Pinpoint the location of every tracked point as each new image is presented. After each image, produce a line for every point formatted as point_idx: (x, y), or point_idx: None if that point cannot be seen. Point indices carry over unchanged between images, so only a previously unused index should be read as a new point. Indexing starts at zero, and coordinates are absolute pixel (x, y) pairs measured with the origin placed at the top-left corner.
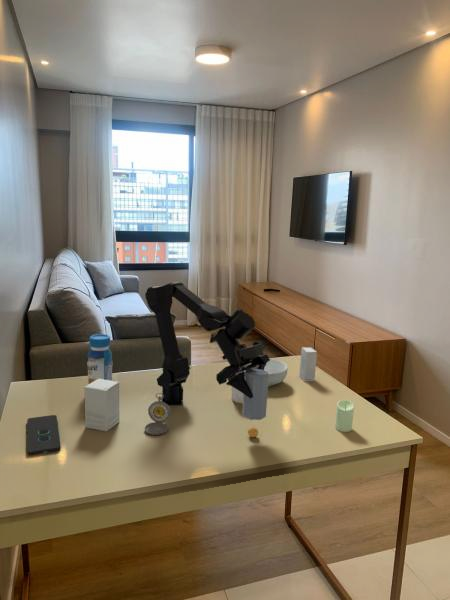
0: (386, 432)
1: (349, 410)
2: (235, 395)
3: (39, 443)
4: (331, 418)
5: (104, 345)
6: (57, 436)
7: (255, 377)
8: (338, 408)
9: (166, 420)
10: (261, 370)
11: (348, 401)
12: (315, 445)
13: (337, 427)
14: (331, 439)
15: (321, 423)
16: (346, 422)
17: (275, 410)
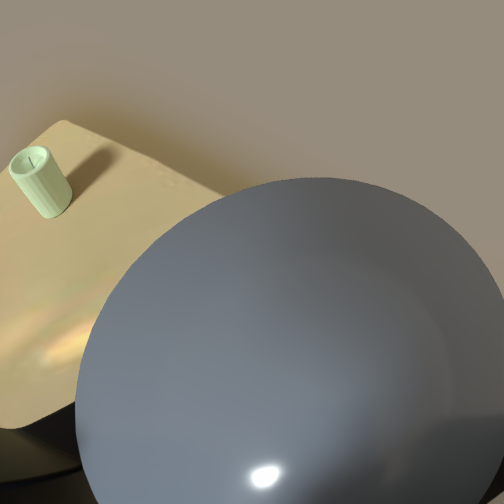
0: (54, 145)
1: (47, 149)
2: None
3: None
4: (21, 242)
5: None
6: None
7: (494, 287)
8: (39, 172)
9: None
10: (124, 438)
11: (15, 158)
12: (171, 212)
13: (65, 203)
14: (119, 197)
15: (49, 250)
16: (62, 174)
17: (38, 398)
